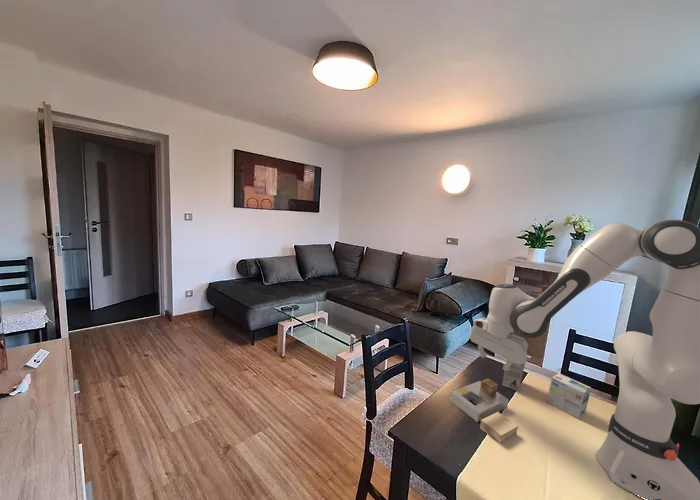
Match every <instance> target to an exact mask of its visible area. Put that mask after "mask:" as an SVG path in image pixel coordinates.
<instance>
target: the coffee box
mask: <svg viewBox="0 0 700 500" xmlns="http://www.w3.org/2000/svg"><path fill="white" fill-rule="evenodd" d="M507 360H508V359H506V363H505V364H508V362H507ZM525 365H526V362H525V363H523V364H521V365H518V364H516V363H513V364H512V365H511V366H510V370H509V371H506V370H504V373H503V379H502V386H503V387H505V388H508V389H511V390H513V391H515V392H519V391H520V389H521V384H522V381H523V380H522V379H523V374H524V369H525Z"/></svg>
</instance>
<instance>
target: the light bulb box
mask: <svg viewBox="0 0 700 500" xmlns="http://www.w3.org/2000/svg"><path fill="white" fill-rule="evenodd" d="M550 380H551V381H550V384H549V389H548V393H547V399H546V403H548V404H550V405H552V406H554V407H555V408H557V409H559V410H561V411H563V412H565V413H567V414H568V415H570V416H572V417H574V418H576V419H578V420H579V419H581V418H582V417H583V416H584V415H585V414H587V413H586V411H587V408H588V404H589V399H590V394H591V389H592V387H591V386H589V385H587V384H584V383H582V382H580V381H578V380H575V379H573V378H571V377H569V376H566V375H564V374H562V373H560V372H558V373H557V374H555V375H553V376H551V379H550Z"/></svg>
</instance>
